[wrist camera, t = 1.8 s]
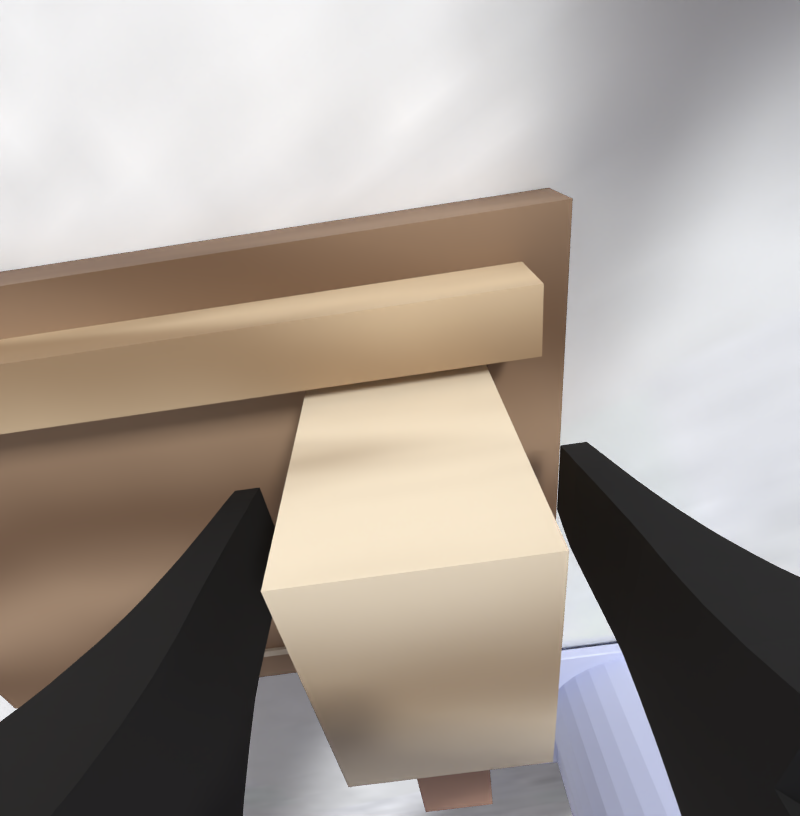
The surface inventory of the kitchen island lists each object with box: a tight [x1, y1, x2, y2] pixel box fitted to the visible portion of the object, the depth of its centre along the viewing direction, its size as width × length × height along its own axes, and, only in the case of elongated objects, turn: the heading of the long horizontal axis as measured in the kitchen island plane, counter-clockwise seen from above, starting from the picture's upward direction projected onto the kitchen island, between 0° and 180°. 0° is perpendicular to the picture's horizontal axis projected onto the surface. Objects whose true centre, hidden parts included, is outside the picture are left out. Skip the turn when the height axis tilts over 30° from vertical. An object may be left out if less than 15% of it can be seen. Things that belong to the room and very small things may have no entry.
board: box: [0, 188, 572, 708], centre depth 14 cm, size 15×20×3 cm
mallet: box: [261, 365, 569, 812], centre depth 12 cm, size 11×4×6 cm, turn 8°
